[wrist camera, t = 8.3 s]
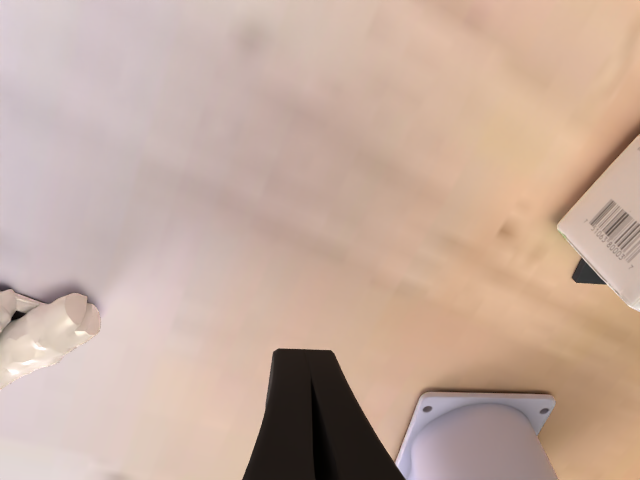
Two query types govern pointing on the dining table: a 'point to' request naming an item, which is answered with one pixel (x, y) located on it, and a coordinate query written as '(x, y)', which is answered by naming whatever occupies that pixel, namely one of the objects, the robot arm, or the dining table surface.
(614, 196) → the syrup box
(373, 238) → the dining table surface
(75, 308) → the white creature statuette
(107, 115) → the dining table surface
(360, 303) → the dining table surface
